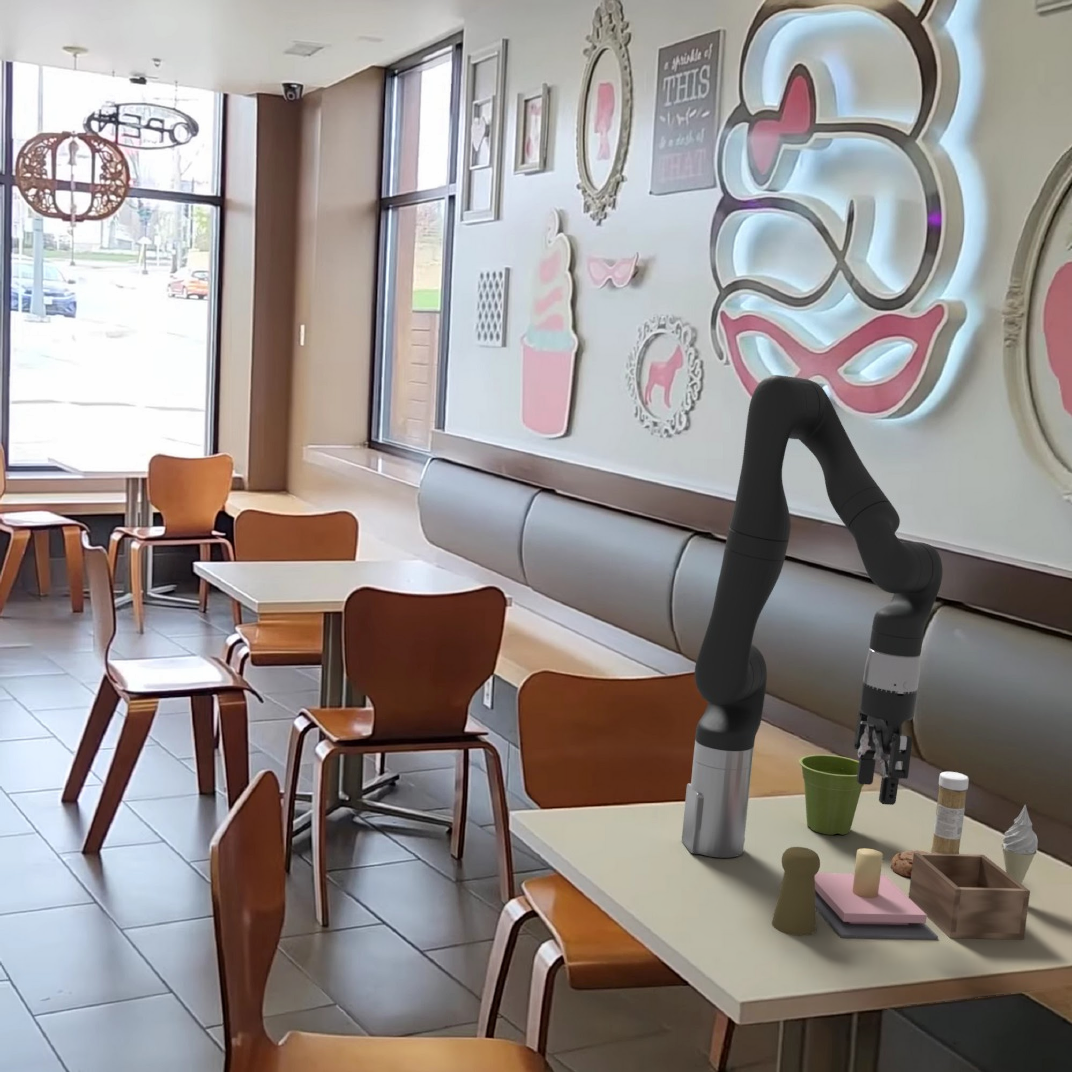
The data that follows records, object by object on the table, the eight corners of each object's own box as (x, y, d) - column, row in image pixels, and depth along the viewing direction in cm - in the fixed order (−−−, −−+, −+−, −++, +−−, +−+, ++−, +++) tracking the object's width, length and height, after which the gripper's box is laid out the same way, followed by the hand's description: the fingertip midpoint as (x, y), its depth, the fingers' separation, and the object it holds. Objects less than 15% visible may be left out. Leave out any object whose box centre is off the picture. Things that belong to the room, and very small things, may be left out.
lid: (842, 928, 191) (849, 871, 190) (806, 886, 206) (811, 833, 204) (924, 930, 193) (931, 873, 192) (882, 888, 207) (888, 835, 206)
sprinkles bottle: (941, 847, 229) (950, 769, 228) (965, 856, 226) (974, 777, 224) (924, 852, 226) (934, 772, 225) (948, 861, 223) (958, 780, 221)
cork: (806, 939, 187) (815, 861, 186) (764, 926, 190) (773, 849, 189) (822, 925, 192) (830, 849, 191) (781, 913, 195) (789, 838, 194)
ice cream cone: (1013, 908, 205) (1025, 810, 203) (987, 895, 209) (999, 799, 207) (1037, 905, 207) (1050, 808, 205) (1011, 892, 211) (1023, 797, 209)
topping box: (949, 937, 192) (955, 889, 191) (908, 898, 205) (913, 852, 204) (1023, 939, 193) (1030, 891, 192) (977, 899, 207) (983, 854, 206)
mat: (840, 937, 189) (841, 934, 189) (795, 884, 207) (795, 881, 207) (937, 939, 191) (937, 936, 191) (883, 886, 209) (884, 883, 209)
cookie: (877, 864, 220) (879, 846, 219) (931, 860, 224) (933, 842, 224) (917, 888, 211) (919, 869, 210) (972, 883, 215) (975, 864, 215)
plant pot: (790, 813, 241) (797, 751, 240) (860, 822, 240) (867, 759, 238) (793, 836, 229) (800, 770, 228) (866, 845, 228) (874, 778, 227)
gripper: (847, 668, 201) (832, 776, 203) (884, 694, 187) (868, 809, 189) (896, 672, 202) (881, 779, 204) (937, 697, 188) (920, 812, 190)
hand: (875, 793), depth 197 cm, fingers open, 8 cm apart
